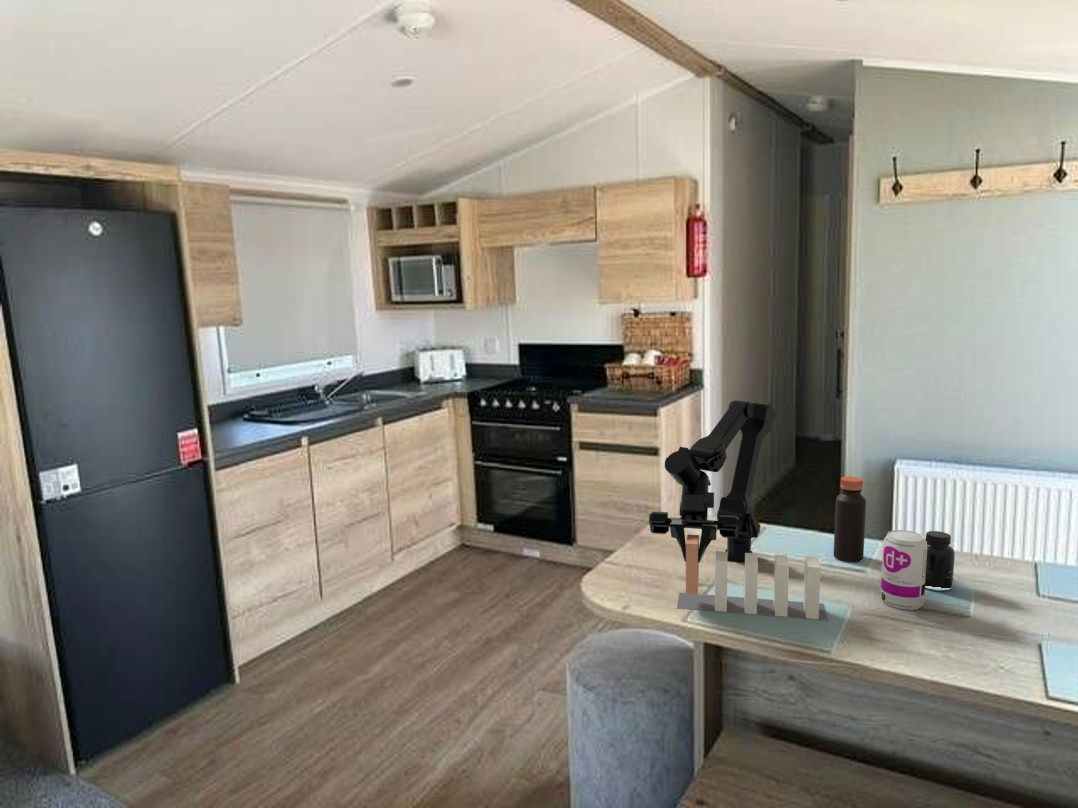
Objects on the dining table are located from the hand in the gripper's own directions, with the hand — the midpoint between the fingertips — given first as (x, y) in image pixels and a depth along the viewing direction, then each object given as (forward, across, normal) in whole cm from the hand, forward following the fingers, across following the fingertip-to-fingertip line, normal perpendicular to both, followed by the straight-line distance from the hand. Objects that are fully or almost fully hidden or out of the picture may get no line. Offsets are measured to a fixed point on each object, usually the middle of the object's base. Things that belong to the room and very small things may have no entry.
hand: (692, 561), depth 157 cm
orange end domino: (+4, 0, +6) cm, 7 cm away
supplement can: (0, +43, +15) cm, 45 cm away
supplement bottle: (-8, +52, +23) cm, 57 cm away
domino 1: (+6, +6, +8) cm, 12 cm away
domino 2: (+6, +12, +8) cm, 16 cm away
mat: (+6, +12, +9) cm, 16 cm away
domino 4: (+6, +24, +8) cm, 26 cm away
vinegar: (-17, +36, +33) cm, 52 cm away
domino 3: (+6, +18, +8) cm, 21 cm away
